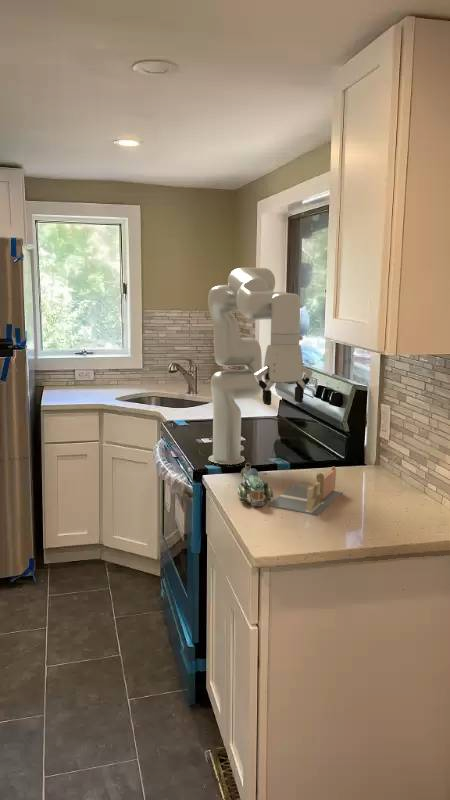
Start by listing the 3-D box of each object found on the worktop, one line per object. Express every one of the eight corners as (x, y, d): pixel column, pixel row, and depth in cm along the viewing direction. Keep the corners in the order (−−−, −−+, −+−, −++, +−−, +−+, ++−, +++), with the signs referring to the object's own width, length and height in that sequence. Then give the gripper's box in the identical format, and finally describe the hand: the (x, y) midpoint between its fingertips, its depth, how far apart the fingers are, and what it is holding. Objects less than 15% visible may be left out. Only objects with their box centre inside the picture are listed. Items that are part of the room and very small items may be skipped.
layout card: (294, 484, 198) (295, 483, 197) (342, 493, 191) (342, 491, 191) (267, 505, 179) (267, 504, 179) (318, 515, 172) (318, 514, 172)
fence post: (316, 501, 183) (317, 471, 181) (324, 502, 182) (325, 472, 180) (304, 512, 175) (305, 481, 173) (312, 513, 174) (313, 482, 172)
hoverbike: (241, 509, 177) (242, 480, 175) (230, 481, 201) (230, 455, 200) (275, 508, 178) (276, 479, 176) (260, 480, 202) (261, 455, 201)
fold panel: (323, 499, 183) (324, 476, 181) (319, 498, 183) (320, 475, 182) (335, 488, 192) (336, 466, 191) (331, 487, 193) (332, 466, 191)
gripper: (305, 338, 178) (303, 398, 181) (249, 339, 171) (248, 402, 174) (319, 340, 171) (317, 403, 174) (262, 342, 164) (260, 407, 168)
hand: (283, 403), depth 174 cm, fingers open, 9 cm apart
